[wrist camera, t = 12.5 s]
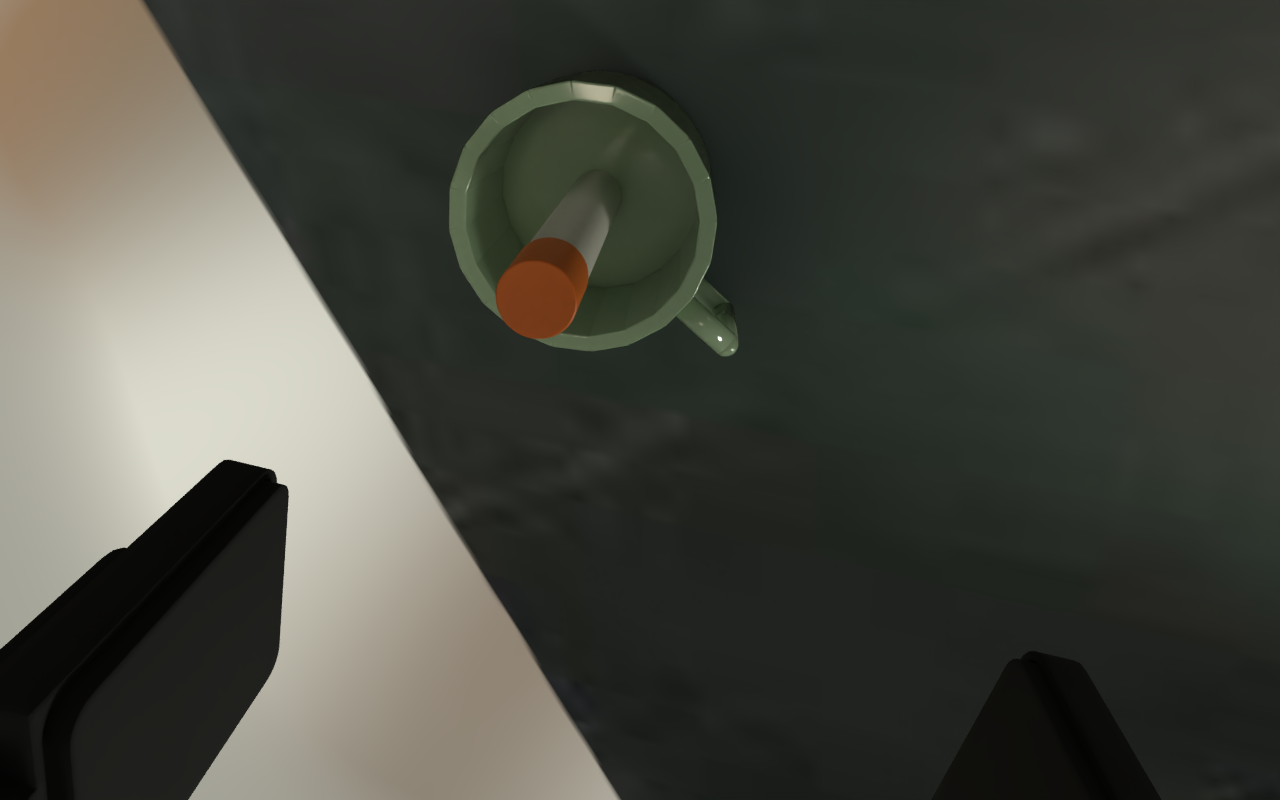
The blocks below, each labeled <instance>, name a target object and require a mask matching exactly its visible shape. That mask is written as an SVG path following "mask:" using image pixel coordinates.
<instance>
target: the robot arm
mask: <svg viewBox="0 0 1280 800" xmlns="http://www.w3.org/2000/svg"><path fill="white" fill-rule="evenodd" d="M288 497H289V496H288V488H287V486H285V485H282V484H278V483H277V478H276V475H275V472H274V471H272V470H270V469H266V468H262V467H258V466H254V465H249V464H245V463H241V462H237V461H232V460H224V461H222V462H221V463H219V464H218V465H217V466H216V467H215V468H214V469H212V470H211V471H210V472H209V473H208V474H207V475H206V476H205V477H204V478H203V479H202V480H200V481H199V482H198V483H197V484H196V485H195V486H194V487H193V488H192V489H191V490H190V491H189V492H187V494H185V496H183V497H182V498H181V499H180V500H179V501H178V502H177V503H175V504H174V505H173V506H172V507H171V508H170V509H169V510H168V511H167V512H166V513H165V514H163V515H162V516H161V517H160V518H159V519H158V520H157V521H156V522H155V523H154V524H153V525H151V526H150V527H149V528H148V529H147V530H146V531H145V532H144V533H143V534H142V535H141V536H140V537H138V538H137V539H136V540H135V541H134V542H133V543H132V544H131V545H130V546H129V547H128V548H120V549H116V550H113V551H112V552H110V553H109V554H107V555H106V556H104V557H103V558H102V559H101V560H100V561H98V562H97V563H96V564H95V565H94V566H93V567H92V568H91V569H89V570H88V571H87V572H86V573H85V574H84V575H83V576H82V577H80V578H79V579H78V580H77V581H76V582H75V583H74V584H73V585H72V586H70V587H69V588H68V589H67V590H66V591H65V592H64V593H63V594H62V595H61V596H59V597H58V598H57V599H56V600H55V601H54V602H53V603H52V604H51V605H49V606H48V607H47V608H46V609H45V610H44V611H43V612H41V613H40V614H39V615H38V616H37V617H36V618H35V619H34V620H33V621H31V622H30V623H29V624H28V625H27V626H26V627H25V628H24V629H23V630H21V631H20V632H19V633H18V634H17V635H16V636H15V637H14V638H13V639H12V640H10V641H9V642H8V643H7V644H6V645H5V646H4V647H3V648H1V649H0V800H188V799H189V798H190V796H191V794H192V793H193V791H194V790H195V789H196V787H197V786H198V784H199V782H200V781H201V779H202V778H203V776H204V775H205V773H206V772H207V770H208V769H209V767H210V766H211V764H212V763H213V761H214V760H215V758H216V756H217V755H218V754H219V752H220V750H221V749H222V748H223V746H224V744H225V743H226V742H227V740H228V739H229V737H230V735H231V734H232V732H233V731H234V729H235V728H236V726H237V725H238V723H239V722H240V720H241V719H242V717H243V716H244V714H245V713H246V711H247V710H248V708H249V707H250V705H251V704H252V702H253V701H254V699H255V698H256V696H257V695H258V693H259V692H260V690H261V688H262V687H263V686H264V684H265V682H266V681H267V679H268V677H269V676H270V674H271V672H272V670H273V668H274V665H275V662H276V659H277V655H278V651H279V641H280V625H281V609H282V593H283V576H284V561H285V545H286V528H287V512H288ZM932 800H1161V798H1160V797H1159V795H1158V793H1157V792H1156V790H1155V788H1154V786H1153V785H1152V783H1151V781H1150V780H1149V778H1148V776H1147V774H1146V773H1145V771H1144V769H1143V768H1142V766H1141V764H1140V762H1139V761H1138V759H1137V757H1136V756H1135V754H1134V752H1133V750H1132V749H1131V747H1130V745H1129V744H1128V742H1127V740H1126V738H1125V737H1124V735H1123V733H1122V732H1121V730H1120V728H1119V727H1118V725H1117V723H1116V721H1115V720H1114V718H1113V716H1112V715H1111V713H1110V711H1109V709H1108V708H1107V706H1106V704H1105V703H1104V701H1103V699H1102V697H1101V696H1100V694H1099V692H1098V691H1097V689H1096V687H1095V685H1094V684H1093V682H1092V680H1091V679H1090V677H1089V675H1088V673H1087V672H1086V670H1085V669H1084V668H1083V666H1082V665H1081V664H1080V663H1078V662H1076V661H1074V660H1070V659H1065V658H1061V657H1057V656H1053V655H1048V654H1044V653H1040V652H1036V651H1031V652H1028V653H1026V654H1025V655H1023V657H1022V658H1021V659H1013V660H1011V661H1010V662H1009V663H1008V664H1007V666H1006V667H1005V669H1004V671H1003V672H1002V674H1001V676H1000V678H999V679H998V681H997V683H996V685H995V687H994V688H993V690H992V692H991V694H990V696H989V697H988V699H987V701H986V703H985V705H984V706H983V708H982V710H981V712H980V714H979V715H978V717H977V719H976V721H975V723H974V724H973V726H972V728H971V730H970V732H969V733H968V735H967V737H966V739H965V741H964V742H963V744H962V746H961V748H960V749H959V751H958V753H957V755H956V757H955V758H954V760H953V762H952V764H951V766H950V767H949V769H948V771H947V773H946V775H945V776H944V778H943V780H942V782H941V784H940V785H939V787H938V789H937V791H936V793H935V794H934V796H933V798H932Z"/></svg>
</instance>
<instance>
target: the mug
mask: <svg viewBox="0 0 1280 800" xmlns="http://www.w3.org/2000/svg"><path fill="white" fill-rule="evenodd" d="M591 170H602V171H605V172H607V173H609V174H611V175H612V176H613V177H614V178H615V179H616V180H617V182H618V184H619V186H620V189H621V202H620V205H619V207H618V210H617V212H616V214H615V217H614V219H613V222H612V224H611V226H610V229H609V231H608V233H607V236H606V238H605V241H604V243H603V245H602V248H601V250H600V252H599V255H598V257H597V260H596V262H595V264H594V267H593V269H592V271H591V274H590V276H589V278H588V284H587V288H586V290H585V293H584V295H583V297H582V300H581V302H580V305H579V307H578V310H577V312H576V314H575V317H574V319H573V321H572V322H571V324H570V325H569V326H568V327H567V328H566V329H565V330H564V331H563V332H561V333H560V334H558V335H556V336H553V337H550V338H545V339H536V340H538V341H540V342H543V343H545V344H547V345H549V346H551V345H552V346H553V347H560V348H568V349H576V350H584V351H598V350H604V349H609V348H615V347H621V346H627V345H629V344H632V343H634V342H636V341H638V340H640V339H642V338H644V337H646V336H648V335H650V334H652V333H654V332H656V331H658V330H660V329H661V328H663V327H664V326H666V325H667V324H668V323H669V322H670V321H671V320H672V319H673V318H674V317H675V316H676V317H677V318H678V319H679V320H680V321H681V322H682V323H683V324H685V325H686V326H687V327H688V328H689V329H690V330H691V331H692V332H693V333H694V334H696V335H697V336H698V337H699V338H700V339H701V340H702V341H703V342H704V343H706V344H707V345H708V346H709V347H710V348H711V349H712V350H713V351H714V352H715V353H717V354H718V355H720V356H723V357H728V356H731V355H733V354H734V353H735V352H736V351H737V349H738V345H739V341H738V334H737V326H736V319H735V312H734V307H733V305H732V304H731V303H730V302H729V301H728V300H727V299H726V298H725V297H724V296H723V295H722V294H720V293H719V292H718V291H717V290H716V289H715V288H714V287H713V286H712V285H711V284H710V283H709V282H708V281H707V280H705V279H704V276H705V274H706V272H707V270H708V268H709V266H710V264H711V260H712V254H713V248H714V241H715V235H716V228H717V211H716V202H715V194H714V185H713V179H712V173H711V167H710V161H709V155H708V153H707V149H706V147H705V145H704V142H703V140H702V138H701V136H700V134H699V132H698V130H697V128H696V126H695V125H694V123H693V122H692V120H691V119H690V118H689V116H688V115H687V114H686V112H685V111H684V110H683V109H682V108H681V107H680V106H679V105H678V103H676V102H675V101H674V100H673V99H672V98H671V97H669V96H668V95H667V94H666V93H664V92H663V91H661V90H660V89H658V88H657V87H655V86H654V85H652V84H650V83H648V82H645V81H643V80H641V79H639V78H636V77H633V76H629V75H626V74H622V73H616V72H609V71H588V72H583V73H577V74H574V75H570V76H565V77H561V78H557V79H554V80H552V81H549V82H547V83H544V84H541V85H539V86H536V87H534V88H531V89H529V90H526V91H524V92H523V93H521V94H520V95H518V96H516V97H515V98H513V99H512V100H510V101H508V102H507V103H505V104H504V105H502V106H500V107H499V108H497V109H496V110H494V111H492V113H491V114H489V115H488V116H487V118H486V119H485V120H484V121H483V123H482V124H481V125H480V127H479V128H478V129H477V130H476V132H475V133H474V134H473V135H472V137H471V138H470V139H469V140H468V142H467V143H466V144H465V147H464V148H463V150H462V153H461V156H460V159H459V161H458V164H457V167H456V170H455V173H454V176H453V179H452V181H451V184H450V186H451V187H450V196H449V228H450V229H449V232H450V235H451V238H452V242H453V245H454V248H455V252H456V255H457V259H458V262H459V265H460V268H461V270H462V272H463V274H464V275H465V277H466V278H467V280H468V281H469V283H470V284H471V286H472V287H473V289H474V290H475V292H476V293H477V295H478V296H479V298H480V299H481V301H482V302H483V303H484V304H485V305H486V306H487V307H488V308H489V309H490V310H492V311H493V312H494V313H495V314H496V315H497V316H499V317H500V318H501V319H502V317H501V316H500V313H499V311H498V308H497V305H496V288H497V284H498V282H499V280H500V278H501V276H502V275H503V273H504V272H505V271H506V269H507V268H508V267H509V266H510V264H511V263H512V262H513V260H514V259H515V258H516V257H517V255H518V254H519V253H520V251H521V250H522V249H523V248H524V247H525V246H526V245H527V244H529V243H530V241H531V240H532V239H533V237H534V236H535V235H536V233H537V232H538V231H539V230H540V228H541V227H542V226H543V224H544V223H545V222H546V220H547V219H548V218H549V216H550V215H551V214H552V212H553V211H554V210H555V209H556V207H557V206H558V205H559V203H560V202H561V201H562V199H563V198H564V197H565V195H566V194H567V193H568V191H569V190H570V189H571V188H572V186H573V185H574V184H575V182H576V181H577V180H578V178H579V177H580V176H581V175H583V174H584V173H586V172H588V171H591ZM502 320H503V319H502ZM503 321H504V320H503Z"/></svg>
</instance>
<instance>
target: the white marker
mask: <svg viewBox="0 0 1280 800" xmlns="http://www.w3.org/2000/svg"><path fill="white" fill-rule="evenodd" d="M620 202H621V189H620V186H619V184H618V182H617V180H616V179H615V178H614V177H613V176H612V175H611V174H609V173H607V172H605V171H602V170H591V171H588V172H586V173H584V174H583V175H581V176H580V177H579V178H578V180H577V181H576V182H575V184H574V185H573V186H572V188H571V189H570V190H569V191H568V193H567V194H566V195H565V197H564V198H563V199H562V201H561V202H560V203H559V205H558V206H557V207H556V209H555V210H554V211H553V212H552V214H551V215H550V216H549V218H548V219H547V220H546V222H545V223H544V224H543V226H542V227H541V228H540V230H539V231H538V232H537V233H536V235H535V236H534V237H533V239H532V240H531V241H530V243H529V244H527V245H526V246H525V247H524V248H523V249H522V250H521V251H520V253H519V254H518V255H517V257H516V258H515V259H514V260H513V262H512V263H511V264H510V266H509V267H508V268H507V269H506V271H505V272H504V273H503V275H502V276H501V278H500V280H499V282H498V284H497V288H496V305H497V308H498V311H499V313H500V316H501V317H502V319H503V320H504V322H505V323H506V324H507V325H508V326H509V327H510V328H511V329H512V330H514V331H515V332H517V333H519V334H521V335H523V336H525V337H529V338H534V339H545V338H550V337H553V336H556V335H558V334H560V333H561V332H563V331H564V330H565V329H566V328H567V327H568V326H569V325H570V324H571V322H572V321H573V319H574V317H575V314H576V312H577V310H578V307H579V305H580V302H581V300H582V297H583V295H584V293H585V290H586V288H587V284H588V278H589V276H590V274H591V271H592V269H593V267H594V264H595V262H596V260H597V257H598V255H599V252H600V250H601V248H602V245H603V243H604V241H605V238H606V236H607V233H608V231H609V229H610V226H611V224H612V222H613V219H614V217H615V214H616V212H617V210H618V207H619V205H620Z"/></svg>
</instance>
